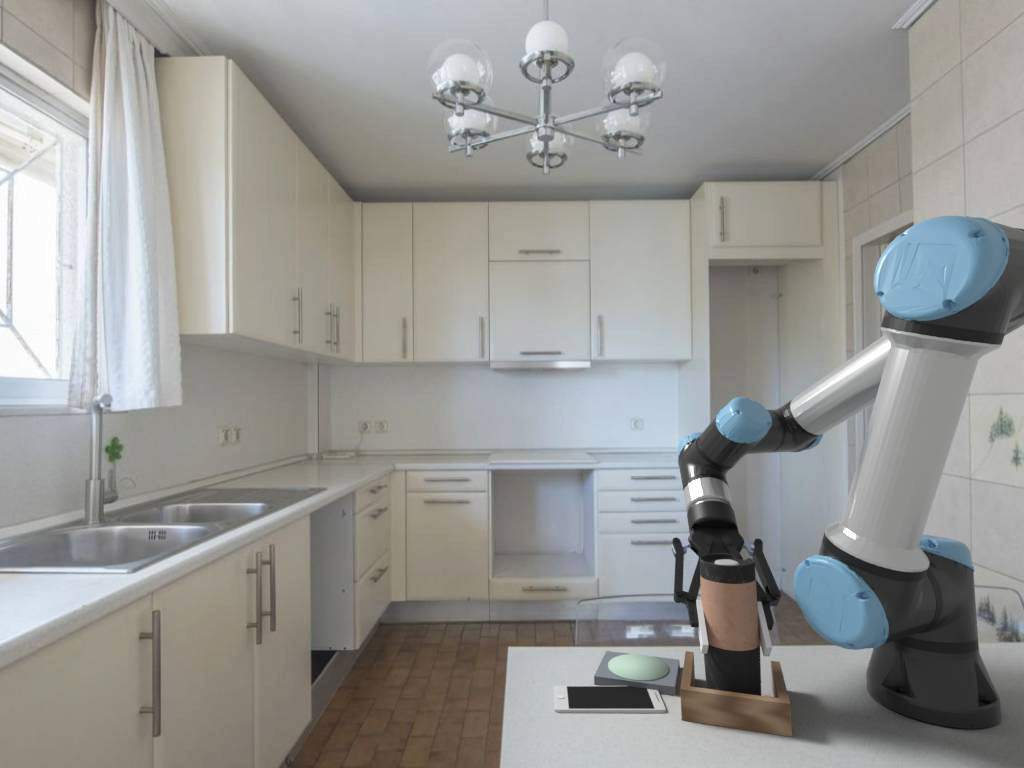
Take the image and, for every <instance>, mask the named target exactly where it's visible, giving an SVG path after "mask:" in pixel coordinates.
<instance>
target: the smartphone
mask: <svg viewBox="0 0 1024 768" xmlns="http://www.w3.org/2000/svg"><path fill="white" fill-rule="evenodd" d="M553 707H554V708H553V710H554V713H559V714H560V713H561V714H569V713H570V714H573V713H574V714H580V713H581V714H583V713H585V714H591V713H592V714H666V713H667V708H666V706H665V704H664V700H663V699H662V697H661V693H659V692H658V690H653V689H646V688H639V687H631V686H604V685H553Z"/></svg>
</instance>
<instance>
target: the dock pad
mask: <svg viewBox="0 0 1024 768" xmlns="http://www.w3.org/2000/svg"><path fill="white" fill-rule="evenodd" d="M680 665H681V664H680V659H679V658H669V657H660V656H653V655H647V654H640V653H639V654H637V653H636V654H635V653H628V652H627V653H626V652H618V651H612V650H611V651H610V650H606V651H605V653H604V655H603V657H602V658H601V661H600V663H599V665H598V667H597V669H596V671H595V673H594V675H593V678H594V680H593V683H594V685H596V686H631V687H639V688H646V689H653V690H658V692H659V694H660V695H661V694H662V695H668V696H669V695H671V696H676V694H677V688H678V687H677V686H678V681H679V674H680Z"/></svg>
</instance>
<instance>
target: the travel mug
mask: <svg viewBox="0 0 1024 768" xmlns="http://www.w3.org/2000/svg"><path fill="white" fill-rule="evenodd" d="M756 576H757V574H756V568H755V562H754V560H753V559H752V557H747V558H745V559H743V560H742V559H738V558H736V557H734V556H733V555H732V554H724V553H717V554H707V555H703V556H701V557H700V584H701V586H700V600H701V602H702V607H703V612H704V618H705V625H706V631H707V638H708V651H707V654H703V659H704V672H705V686H706V687H705V688H706V689H713V690H721V691H728V692H736V693H743V694H751V695H758V696H762V674H761V673H762V672H761V666H762V665H761V643H760V636H759V620H758V605H757V590H756V580H757V579H756V578H757V577H756Z"/></svg>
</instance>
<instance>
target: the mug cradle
mask: <svg viewBox="0 0 1024 768" xmlns="http://www.w3.org/2000/svg"><path fill="white" fill-rule="evenodd" d="M684 653H685V654H684V661H683V668H682V675H681V683H680V690H679V691H680V692H679V693H680V710H681V711H680V712H681V713H680V715H681V720H682V721H686V722H687V721H688V722H693V723H699V724H707V725H713V726H718V727H719V726H720V727H726V728H732V729H737V730H739V729H740V730H745V731H753V732H758V733H765V734H771V735H778V736H785V737H789V738H790V737H791V738H793V728H792V712H791V711H792V710H791V702H790V697H789V693H788V689H787V685H786V681H785V678H784V674H783V670H782V666H781V663H780V661H775V660H770V670H771V671H770V672H771V689H772V693H773V697H771V696H766V695H761V696H758V695H751V694H743V693H736V692H728V691H721V690H713V689H707V688H706V687H705V688H704V687H696V686H695V682H696V675H695V674H696V673H695V672H696V671H695V652H694V651H687V650H686V651H685V652H684Z"/></svg>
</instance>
